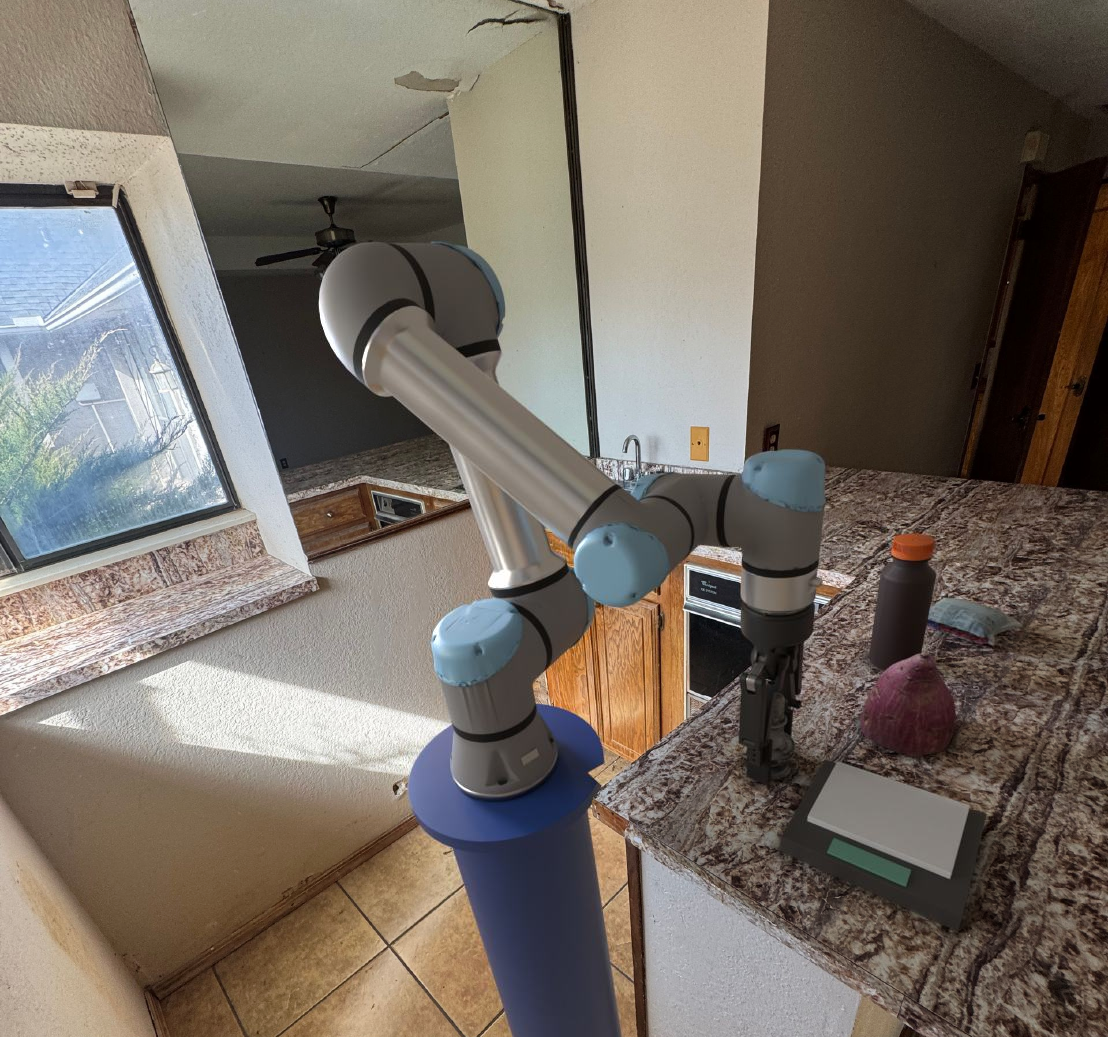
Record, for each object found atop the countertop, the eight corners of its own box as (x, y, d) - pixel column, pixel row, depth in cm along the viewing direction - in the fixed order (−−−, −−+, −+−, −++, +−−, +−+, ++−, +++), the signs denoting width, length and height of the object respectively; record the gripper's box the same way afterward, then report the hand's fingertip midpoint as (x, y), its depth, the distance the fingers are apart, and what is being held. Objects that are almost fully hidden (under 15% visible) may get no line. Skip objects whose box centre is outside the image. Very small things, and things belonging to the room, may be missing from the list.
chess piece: (804, 766, 71) (811, 687, 66) (771, 788, 69) (776, 708, 63) (765, 743, 76) (769, 667, 70) (734, 762, 73) (735, 686, 68)
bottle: (908, 649, 90) (929, 528, 81) (927, 672, 84) (953, 546, 75) (861, 651, 91) (878, 533, 82) (877, 675, 85) (897, 550, 76)
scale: (779, 851, 61) (781, 831, 60) (823, 772, 70) (825, 754, 69) (957, 931, 51) (964, 910, 50) (982, 828, 60) (988, 808, 59)
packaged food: (941, 610, 98) (946, 585, 96) (1020, 635, 89) (1028, 607, 87) (910, 628, 95) (915, 602, 93) (989, 656, 86) (996, 628, 83)
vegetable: (943, 780, 70) (991, 707, 60) (851, 752, 75) (881, 679, 64) (949, 715, 76) (993, 639, 66) (864, 693, 81) (893, 617, 70)
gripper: (778, 649, 53) (768, 824, 64) (842, 572, 65) (824, 731, 76) (704, 631, 58) (706, 798, 69) (776, 563, 70) (768, 714, 81)
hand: (768, 763), depth 72 cm, fingers closed on chess piece, 6 cm apart
